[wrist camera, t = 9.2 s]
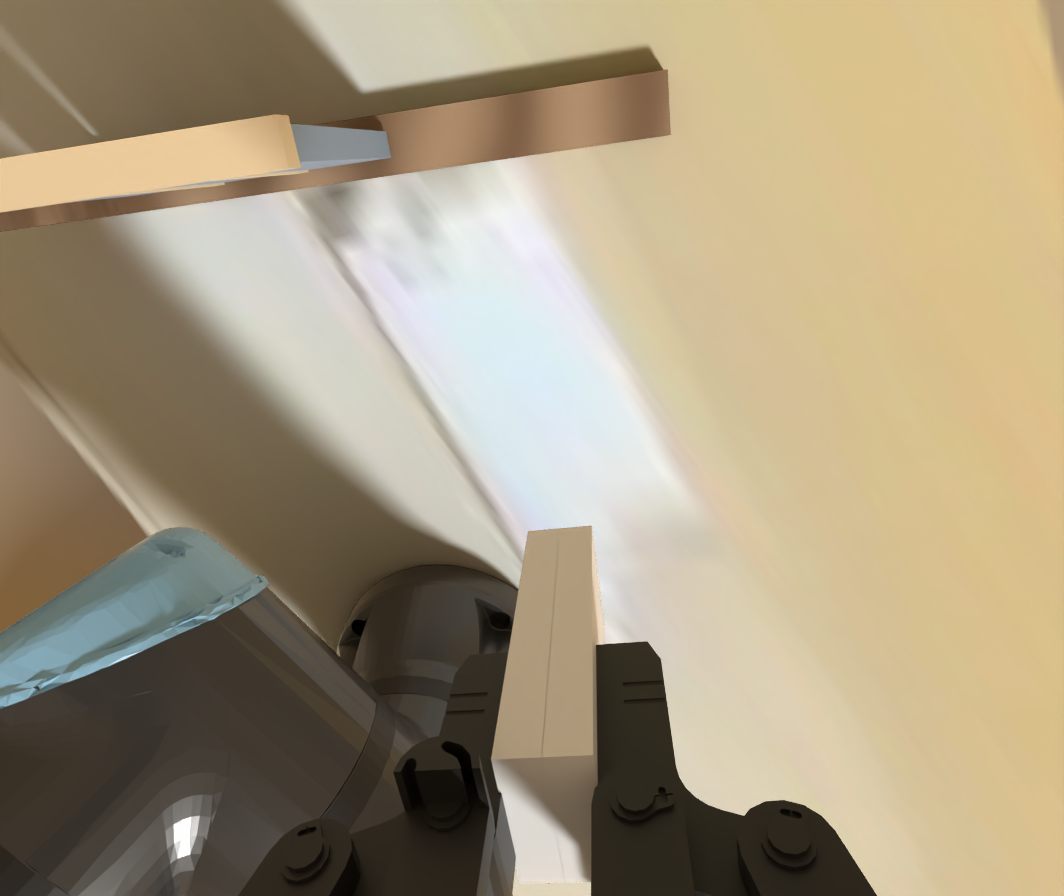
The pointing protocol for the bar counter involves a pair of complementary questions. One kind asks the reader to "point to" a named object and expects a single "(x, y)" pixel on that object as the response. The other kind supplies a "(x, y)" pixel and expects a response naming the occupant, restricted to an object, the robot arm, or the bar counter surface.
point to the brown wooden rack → (434, 142)
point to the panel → (182, 160)
